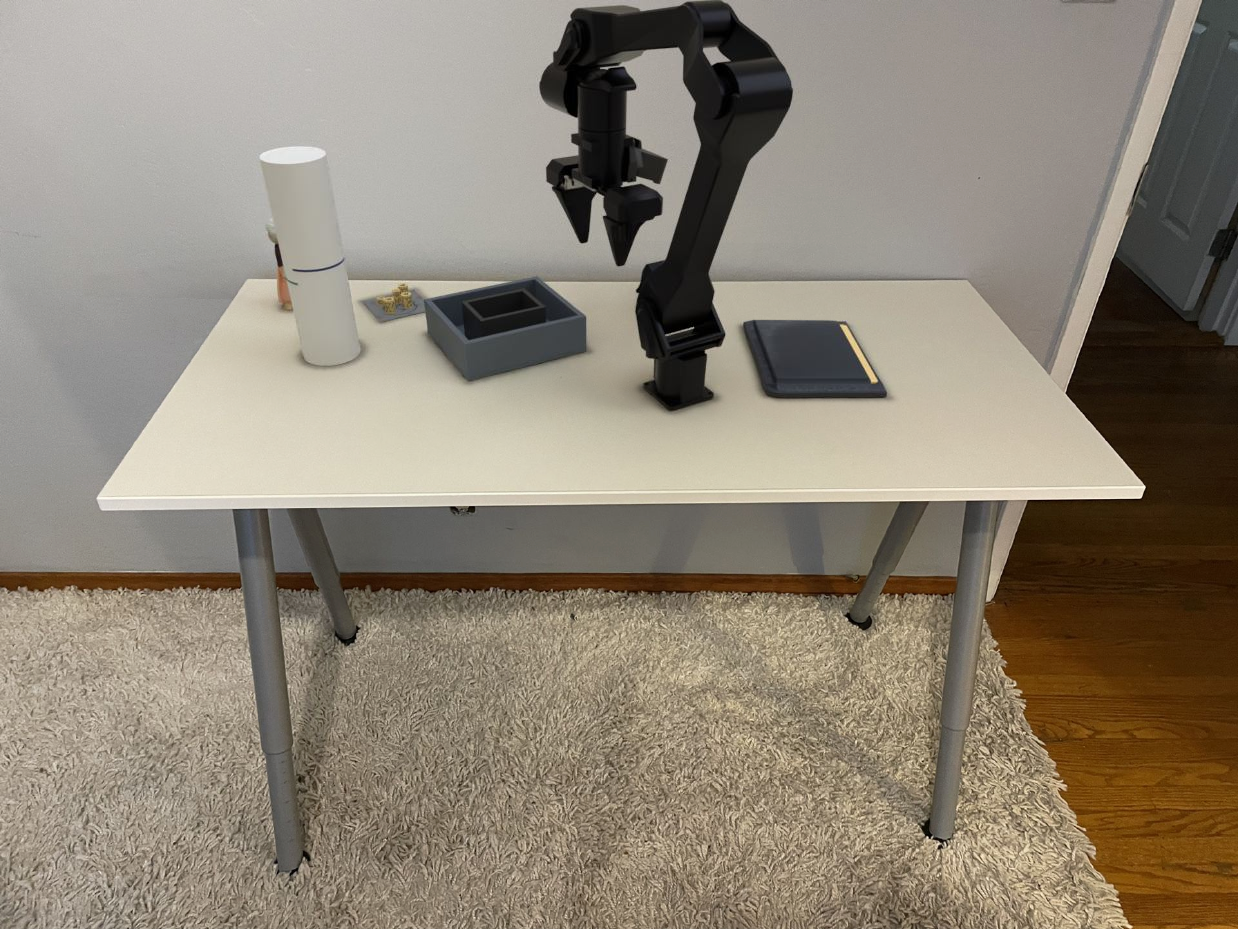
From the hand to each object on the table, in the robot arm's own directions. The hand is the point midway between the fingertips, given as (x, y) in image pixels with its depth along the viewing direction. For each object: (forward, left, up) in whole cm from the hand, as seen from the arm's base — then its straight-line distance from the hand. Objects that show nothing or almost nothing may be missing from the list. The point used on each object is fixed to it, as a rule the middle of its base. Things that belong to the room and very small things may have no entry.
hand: (601, 253), depth 108 cm
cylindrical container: (+12, +33, -12) cm, 37 cm away
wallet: (-19, -21, -12) cm, 30 cm away
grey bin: (+4, +12, -12) cm, 17 cm away
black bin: (+4, +12, -11) cm, 17 cm away
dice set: (+22, +21, -12) cm, 33 cm away
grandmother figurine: (+29, +34, -12) cm, 46 cm away
